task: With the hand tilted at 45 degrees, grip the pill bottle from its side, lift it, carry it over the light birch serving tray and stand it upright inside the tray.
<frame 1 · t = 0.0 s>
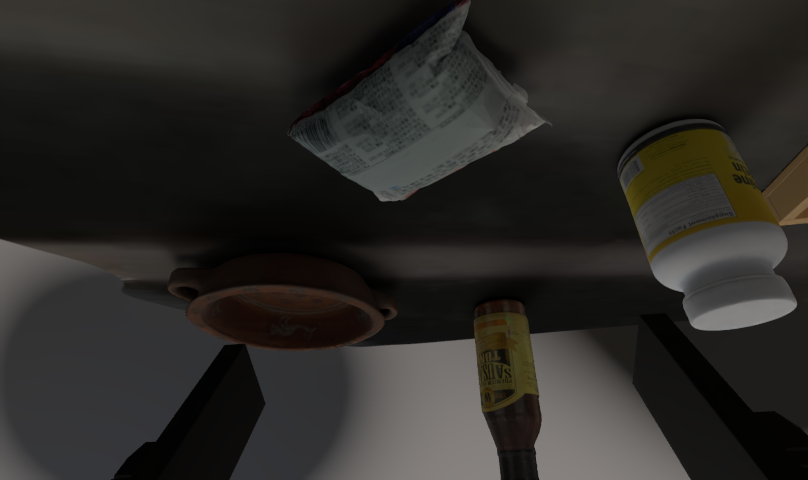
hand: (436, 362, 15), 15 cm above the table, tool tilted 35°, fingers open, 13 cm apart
pill bottle: (665, 148, 28), on the table
dish: (294, 277, 44), on the table
packaged food: (414, 97, 24), on the table
sauce bottle: (496, 305, 52), on the table
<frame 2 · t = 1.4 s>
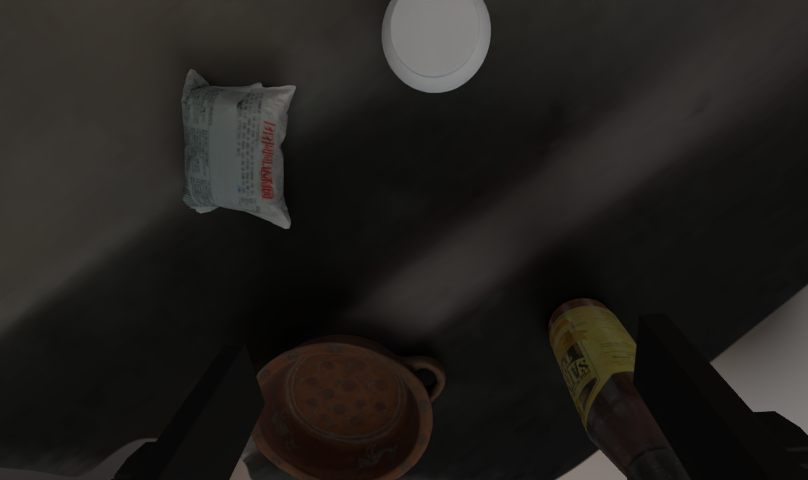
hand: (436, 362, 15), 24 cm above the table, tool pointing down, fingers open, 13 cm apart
pill bottle: (437, 46, 33), on the table
dish: (347, 387, 45), on the table
packaged food: (255, 149, 37), on the table
sauce bottle: (578, 324, 40), on the table
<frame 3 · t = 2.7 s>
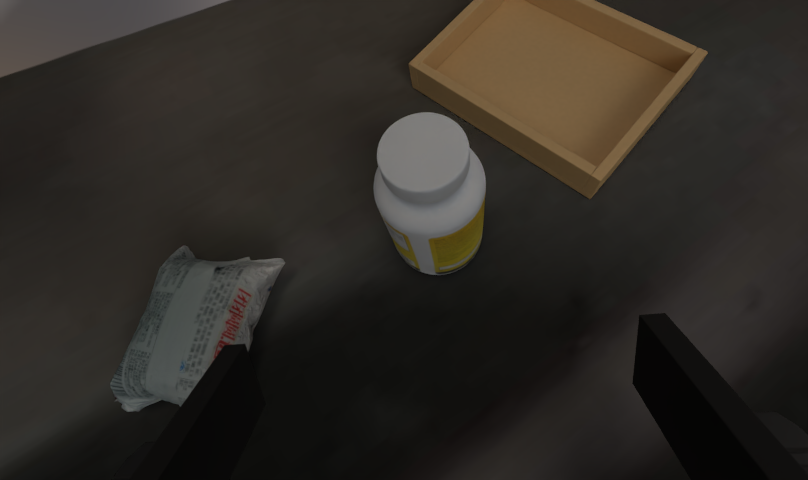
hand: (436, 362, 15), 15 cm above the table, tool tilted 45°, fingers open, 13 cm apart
pill bottle: (438, 237, 32), on the table
tray: (544, 83, 36), on the table
packaged food: (224, 338, 32), on the table
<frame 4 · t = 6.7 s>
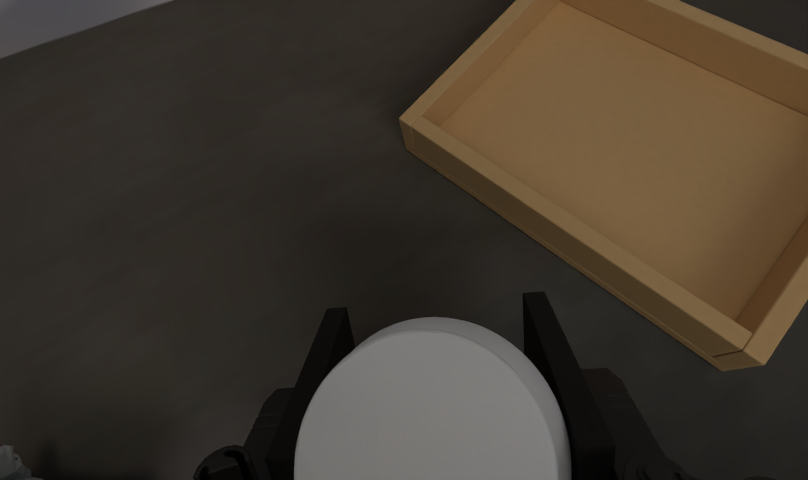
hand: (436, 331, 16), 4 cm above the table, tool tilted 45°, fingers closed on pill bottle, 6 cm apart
pill bottle: (448, 429, 18), on the table, touching gripper
tray: (621, 147, 22), on the table
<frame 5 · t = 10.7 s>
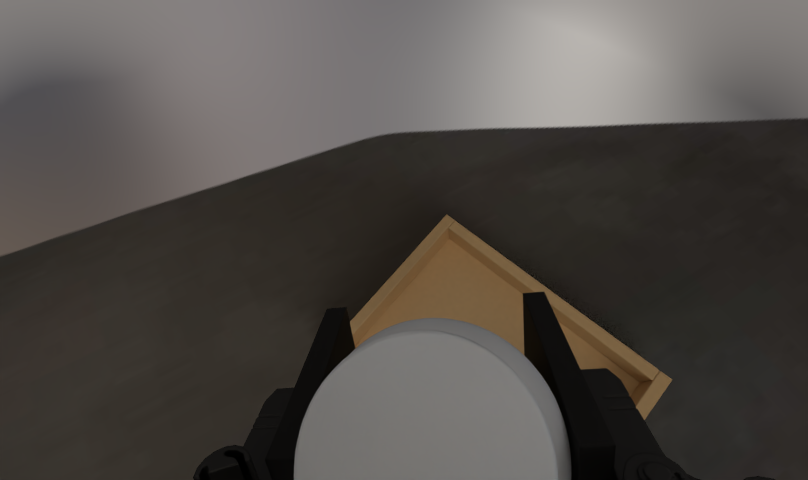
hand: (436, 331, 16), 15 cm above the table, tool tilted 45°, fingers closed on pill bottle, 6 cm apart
pill bottle: (448, 430, 18), point 12 cm above the table, touching gripper
tray: (482, 371, 30), on the table
when the fingers open (4 cm above the table, at t = 14.5 s): pill bottle stays where it is, resting on tray.
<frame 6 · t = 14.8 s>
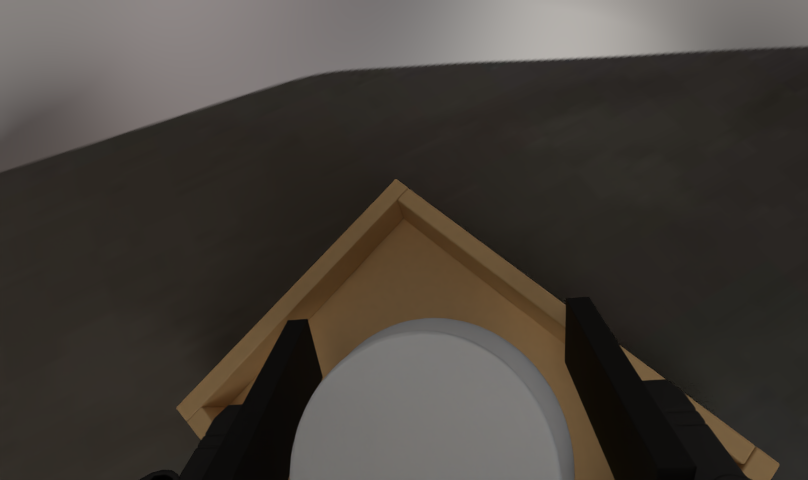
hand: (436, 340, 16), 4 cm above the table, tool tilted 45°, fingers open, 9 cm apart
pill bottle: (449, 431, 18), resting on tray
tray: (448, 429, 18), on the table
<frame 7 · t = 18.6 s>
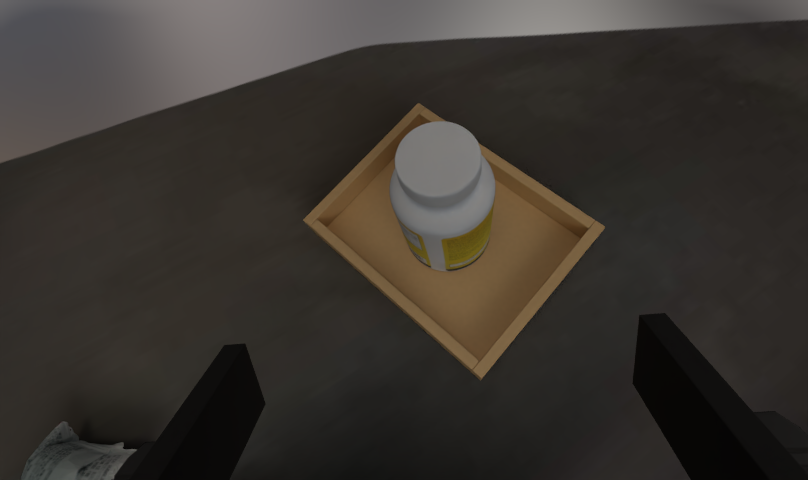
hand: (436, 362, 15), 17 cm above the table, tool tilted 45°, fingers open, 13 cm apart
pill bottle: (447, 235, 34), resting on tray
tray: (447, 236, 34), on the table
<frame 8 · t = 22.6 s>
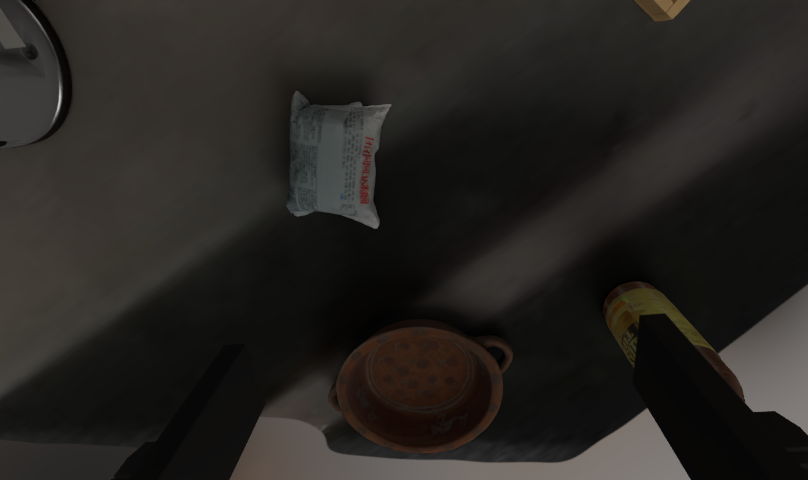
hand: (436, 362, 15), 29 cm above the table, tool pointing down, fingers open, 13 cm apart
dish: (419, 365, 51), on the table
packaged food: (344, 157, 41), on the table
sauce bottle: (629, 304, 46), on the table
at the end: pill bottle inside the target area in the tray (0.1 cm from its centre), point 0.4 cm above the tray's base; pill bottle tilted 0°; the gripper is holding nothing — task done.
